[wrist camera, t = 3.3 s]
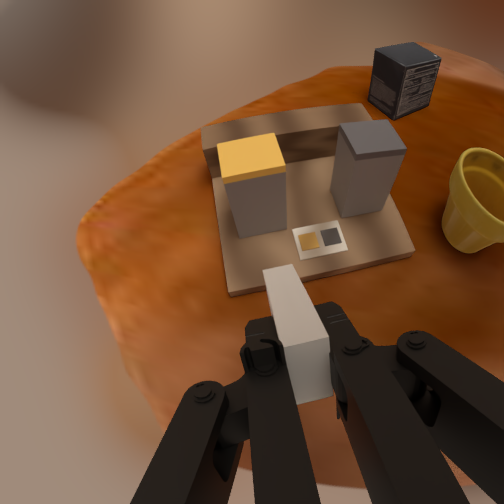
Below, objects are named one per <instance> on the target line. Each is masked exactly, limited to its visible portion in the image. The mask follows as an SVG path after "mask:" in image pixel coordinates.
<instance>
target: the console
mask: <svg viewBox="0 0 504 504" xmlns="http://www.w3.org/2000/svg"><path fill="white" fill-rule="evenodd" d="M360 121H372V118H371V117H370V115H369V114H368V112H367V111H366V109H365V108H364V107H363V105H362V104H361V103H355V104H342V105H332V106H322V107H313V108H305V109H297V110H290V111H283V112H277V113H271V114H265V115H259V116H253V117H248V118H243V119H238V120H233V121H228V122H223V123H218V124H214V125H210V126H205V127H201V137H202V147H203V152H204V155H205V158H206V161H207V164H208V167H209V171H210V174H211V177H212V181H213V189H214V196H215V204H216V211H217V218H218V226H219V233H220V240H221V247H222V253H223V260H224V267H225V273H226V280H227V286H228V292H229V294H230V296H231V297H234V296H239V295H244V294H249V293H254V292H259V291H264V290H266V285H265V280H264V275H263V270H265V269H270V268H275V267H279V266H284V265H289V264H292V265H293V267H294V269H295V270H296V272H297V274H298V276H299V278H300V280H301V282H306V281H311V280H315V279H320V278H324V277H328V276H333V275H337V274H342V273H346V272H350V271H354V270H359V269H363V268H367V267H371V266H375V265H379V264H383V263H387V262H391V261H395V260H399V259H403V258H407V257H411V256H412V254H413V253H414V252H415V248H414V246H413V244H412V241H411V239H410V237H409V234H408V232H407V230H406V227H405V225H404V223H403V221H402V218H401V216H400V214H399V212H398V210H397V208H396V205H395V203H394V201H393V199H392V197H391V195H390V193H389V195H388V198H387V200H386V202H385V205H384V207H383V209H382V210H381V211H376V212H371V213H365V214H360V215H355V216H350V217H345V218H341V216H340V214H339V211H338V208H337V206H336V203H335V201H334V198H333V196H332V193H331V191H330V186H331V179H332V173H333V167H334V160H335V153H336V146H337V139H338V132H339V124H340V123H349V122H360ZM269 133H275V136H276V139H277V142H278V145H279V148H280V150H281V153H282V156H283V159H284V162H285V165H286V202H287V229H284V230H279V231H274V232H269V233H265V234H260V235H255V236H250V237H245V238H239V235H238V231H237V228H236V224H235V221H234V218H233V214H232V211H231V207H230V204H229V200H228V197H227V194H226V190H225V187H224V183H223V180H222V175H221V168H220V162H219V155H218V149H217V144H219V143H223V142H228V141H233V140H238V139H243V138H248V137H253V136H258V135H264V134H269Z"/></svg>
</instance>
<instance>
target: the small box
mask: <svg viewBox="0 0 504 504" xmlns="http://www.w3.org/2000/svg"><path fill="white" fill-rule="evenodd" d="M440 62H441V57H439V56H437V55H436V54H434V53H432V52H431V51H429V50H427V49H425V48H423V47H422V46H420V45H418V44H416V43H414V42H411V43H404V44H398V45H393V46H387V47H382V48H376V49H375V53H374V61H373V69H372V76H371V83H370V89H369V95H368V101H369V102H370V103H371V104H373V105H374V106H375V107H377V108H378V109H379V110H381V111H382V112H383V113H384V114H386V115H387V116H388V117H390V118H391V119H392V120H396V119H398V118H401V117H403V116H405V115H408V114H410V113H412V112H415V111H417V110H419V109H422V108H424V107H426V106H429V102H430V98H431V94H432V91H433V88H434V84H435V81H436V77H437V74H438V70H439V66H440Z"/></svg>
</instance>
